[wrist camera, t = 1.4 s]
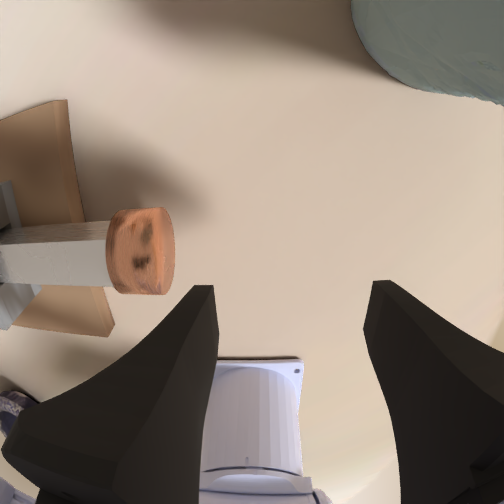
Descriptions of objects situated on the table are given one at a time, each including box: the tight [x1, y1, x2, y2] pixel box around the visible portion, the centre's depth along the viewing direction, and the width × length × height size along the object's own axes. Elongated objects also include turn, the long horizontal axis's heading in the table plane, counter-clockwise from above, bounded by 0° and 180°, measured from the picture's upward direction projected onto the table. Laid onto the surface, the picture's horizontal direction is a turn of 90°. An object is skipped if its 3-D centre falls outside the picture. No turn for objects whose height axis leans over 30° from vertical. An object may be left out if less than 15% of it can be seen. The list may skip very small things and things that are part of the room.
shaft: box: [0, 207, 175, 295], centre depth 14 cm, size 4×16×4 cm, turn 92°
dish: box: [0, 391, 37, 438], centre depth 32 cm, size 16×31×5 cm, turn 167°
